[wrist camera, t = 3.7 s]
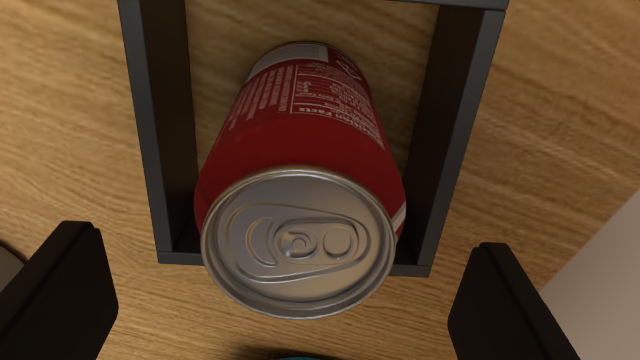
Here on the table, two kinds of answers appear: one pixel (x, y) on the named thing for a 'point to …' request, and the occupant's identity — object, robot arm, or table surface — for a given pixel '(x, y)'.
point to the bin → (425, 150)
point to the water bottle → (8, 267)
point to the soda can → (300, 189)
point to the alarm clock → (291, 358)
